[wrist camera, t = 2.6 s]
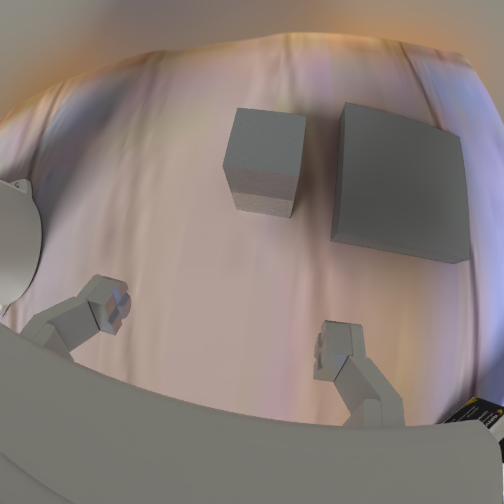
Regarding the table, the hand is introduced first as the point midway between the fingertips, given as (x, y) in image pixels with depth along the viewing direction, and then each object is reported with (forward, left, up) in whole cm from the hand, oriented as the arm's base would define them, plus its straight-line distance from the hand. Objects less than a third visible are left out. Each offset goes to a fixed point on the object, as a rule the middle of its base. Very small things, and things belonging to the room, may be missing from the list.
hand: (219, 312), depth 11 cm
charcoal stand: (+13, +14, -15) cm, 24 cm away
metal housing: (0, +11, -15) cm, 19 cm away
